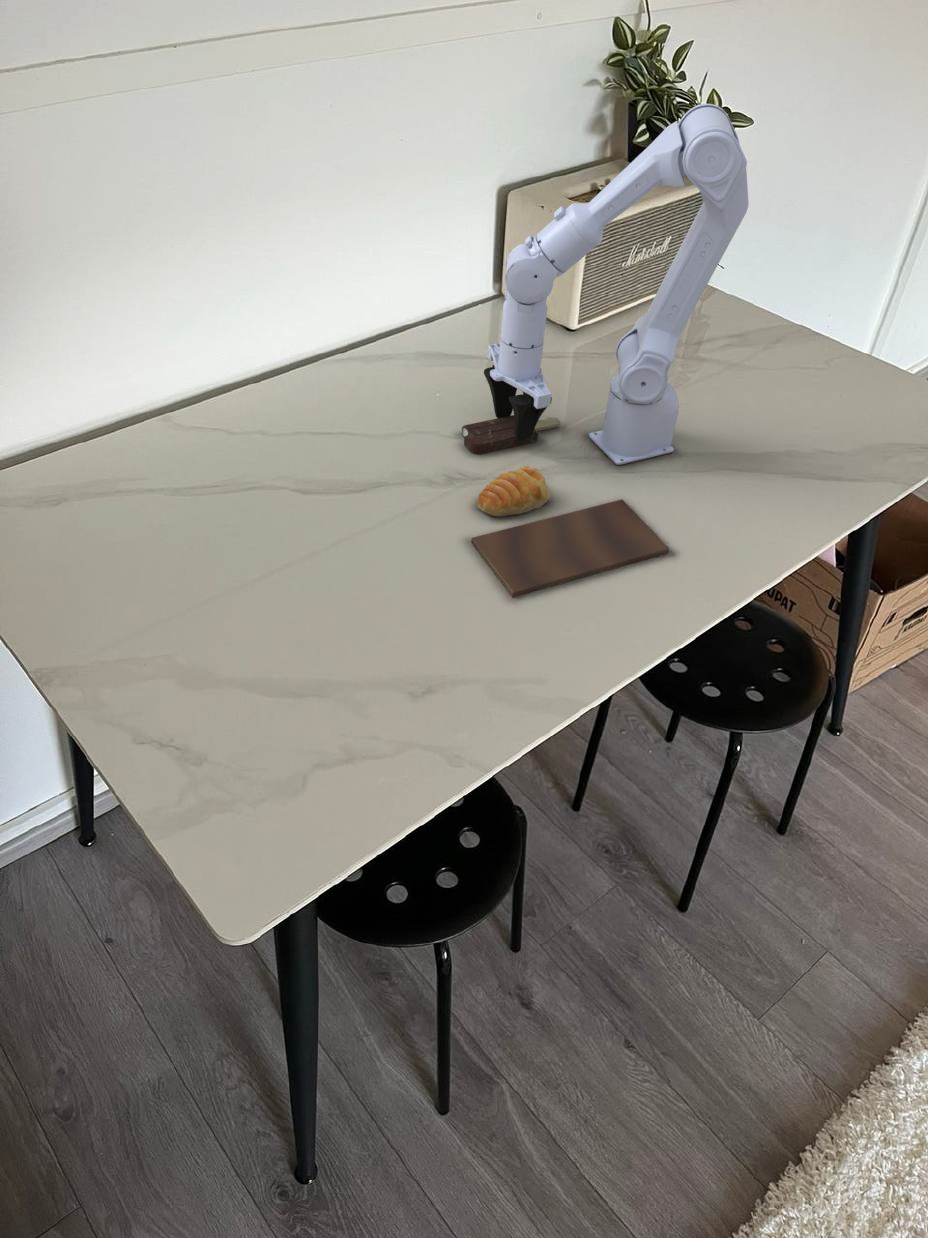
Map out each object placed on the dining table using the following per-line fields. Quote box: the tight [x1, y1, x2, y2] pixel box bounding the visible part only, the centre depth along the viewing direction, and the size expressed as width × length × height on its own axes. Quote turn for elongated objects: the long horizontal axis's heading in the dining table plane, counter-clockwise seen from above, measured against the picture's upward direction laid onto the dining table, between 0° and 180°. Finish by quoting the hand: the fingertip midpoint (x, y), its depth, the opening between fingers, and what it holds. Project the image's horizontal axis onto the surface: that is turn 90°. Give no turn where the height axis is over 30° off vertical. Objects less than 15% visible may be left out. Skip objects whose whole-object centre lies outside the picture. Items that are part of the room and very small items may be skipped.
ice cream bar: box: [461, 414, 561, 455], centre depth 145 cm, size 5×2×15 cm
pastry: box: [477, 465, 551, 518], centre depth 133 cm, size 9×7×4 cm
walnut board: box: [470, 499, 670, 598], centre depth 128 cm, size 22×11×1 cm, turn 116°
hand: (512, 427), depth 145 cm, fingers open, 5 cm apart
